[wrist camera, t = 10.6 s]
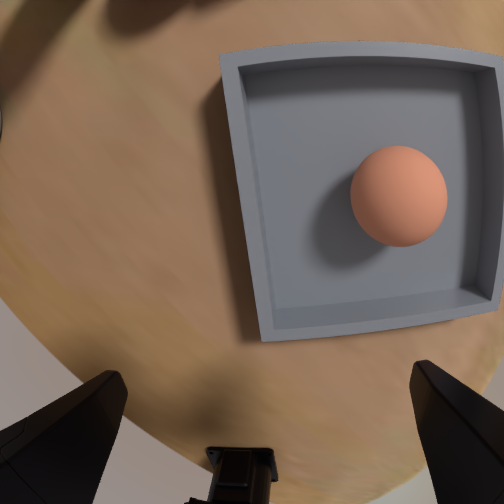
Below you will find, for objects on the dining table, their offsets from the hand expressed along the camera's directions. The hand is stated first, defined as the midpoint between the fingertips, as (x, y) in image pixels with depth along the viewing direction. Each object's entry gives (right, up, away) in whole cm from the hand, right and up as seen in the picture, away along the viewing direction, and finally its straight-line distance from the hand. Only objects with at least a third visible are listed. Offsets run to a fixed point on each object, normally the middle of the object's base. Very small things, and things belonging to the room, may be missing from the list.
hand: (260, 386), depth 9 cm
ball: (+7, +7, +6) cm, 11 cm away
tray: (+7, +8, +9) cm, 14 cm away
